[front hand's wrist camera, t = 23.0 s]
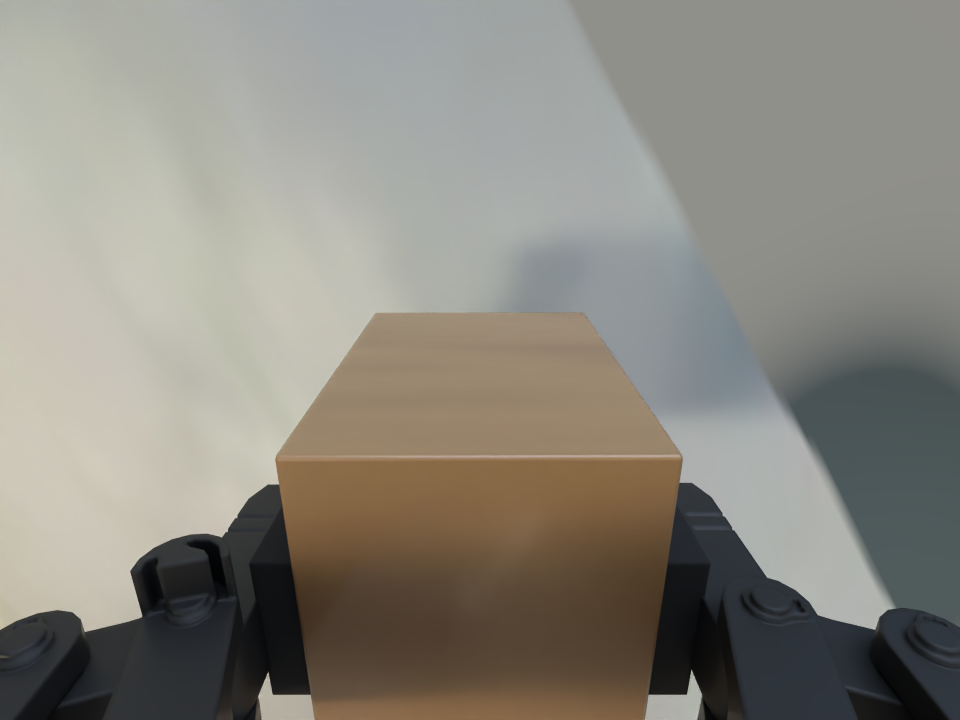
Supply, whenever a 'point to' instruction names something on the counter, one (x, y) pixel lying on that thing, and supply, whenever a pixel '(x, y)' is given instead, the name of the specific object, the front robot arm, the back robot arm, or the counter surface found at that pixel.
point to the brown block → (479, 523)
